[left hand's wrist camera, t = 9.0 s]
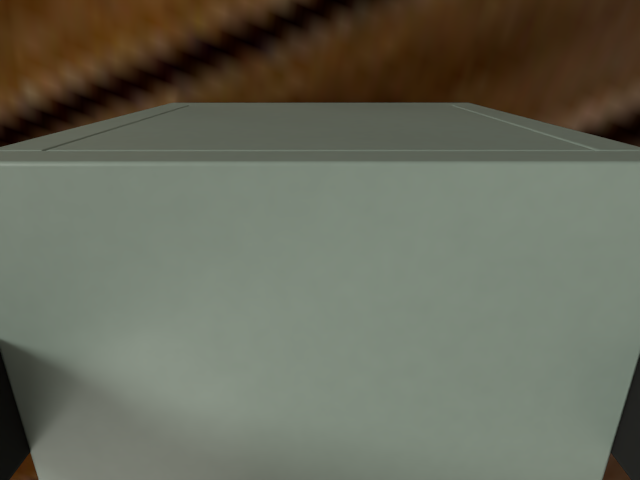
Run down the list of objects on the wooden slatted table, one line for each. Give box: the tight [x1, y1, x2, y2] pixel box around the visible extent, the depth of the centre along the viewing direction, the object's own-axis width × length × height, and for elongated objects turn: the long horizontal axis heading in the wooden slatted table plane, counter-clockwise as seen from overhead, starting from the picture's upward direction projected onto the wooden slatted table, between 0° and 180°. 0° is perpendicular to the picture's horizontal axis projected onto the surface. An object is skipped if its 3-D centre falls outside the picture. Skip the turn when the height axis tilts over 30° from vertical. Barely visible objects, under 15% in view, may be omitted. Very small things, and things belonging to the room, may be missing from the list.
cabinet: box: [0, 103, 640, 480], centre depth 16 cm, size 22×12×12 cm, turn 0°
